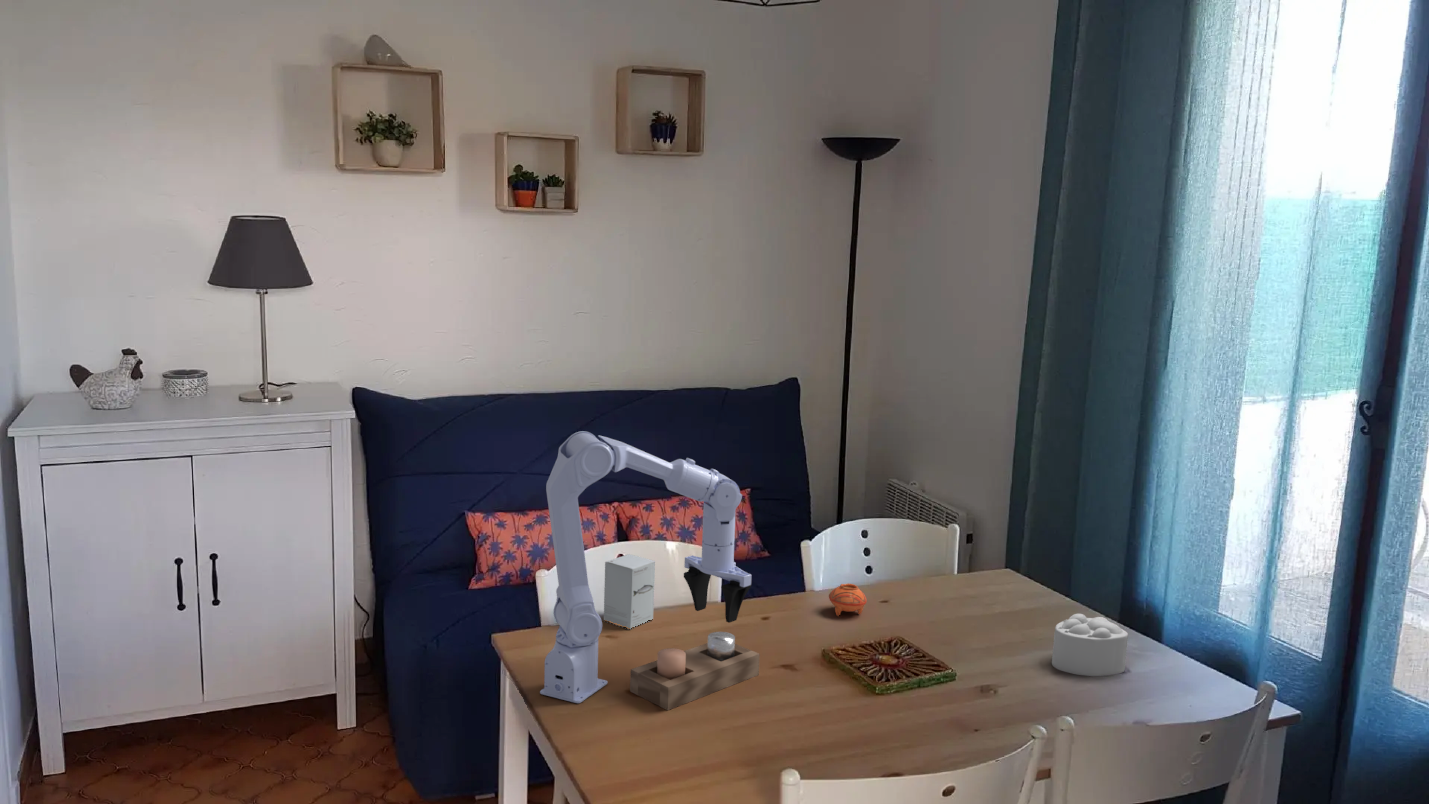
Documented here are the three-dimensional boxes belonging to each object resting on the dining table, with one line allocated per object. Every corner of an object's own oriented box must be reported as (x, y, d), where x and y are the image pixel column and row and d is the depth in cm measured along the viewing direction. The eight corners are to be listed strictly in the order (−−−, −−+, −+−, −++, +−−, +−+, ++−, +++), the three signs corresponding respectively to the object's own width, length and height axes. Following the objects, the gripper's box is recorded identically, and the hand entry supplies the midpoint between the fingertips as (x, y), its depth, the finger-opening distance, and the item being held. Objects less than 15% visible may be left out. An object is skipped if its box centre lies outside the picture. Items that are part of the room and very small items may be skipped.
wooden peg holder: (667, 710, 181) (668, 687, 181) (630, 691, 188) (630, 669, 187) (758, 674, 197) (759, 653, 196) (720, 658, 203) (721, 638, 203)
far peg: (720, 665, 193) (721, 644, 192) (701, 656, 196) (702, 636, 195) (739, 658, 196) (740, 637, 195) (720, 650, 199) (721, 629, 199)
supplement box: (630, 630, 216) (631, 569, 214) (602, 621, 220) (603, 560, 218) (654, 620, 221) (656, 560, 219) (627, 611, 226) (628, 552, 224)
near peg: (670, 683, 184) (670, 661, 184) (651, 674, 188) (651, 653, 187) (690, 676, 188) (691, 654, 187) (672, 667, 191) (672, 646, 190)
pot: (818, 607, 232) (827, 576, 231) (851, 612, 234) (859, 582, 234) (834, 619, 224) (843, 587, 224) (867, 625, 227) (876, 593, 226)
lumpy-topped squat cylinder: (1132, 673, 204) (1136, 628, 202) (1070, 679, 200) (1075, 633, 199) (1098, 651, 213) (1102, 609, 212) (1039, 656, 210) (1043, 613, 208)
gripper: (764, 546, 192) (760, 620, 194) (704, 528, 202) (702, 599, 204) (737, 554, 187) (734, 630, 189) (677, 536, 197) (675, 608, 199)
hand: (715, 615), depth 196 cm, fingers open, 7 cm apart
